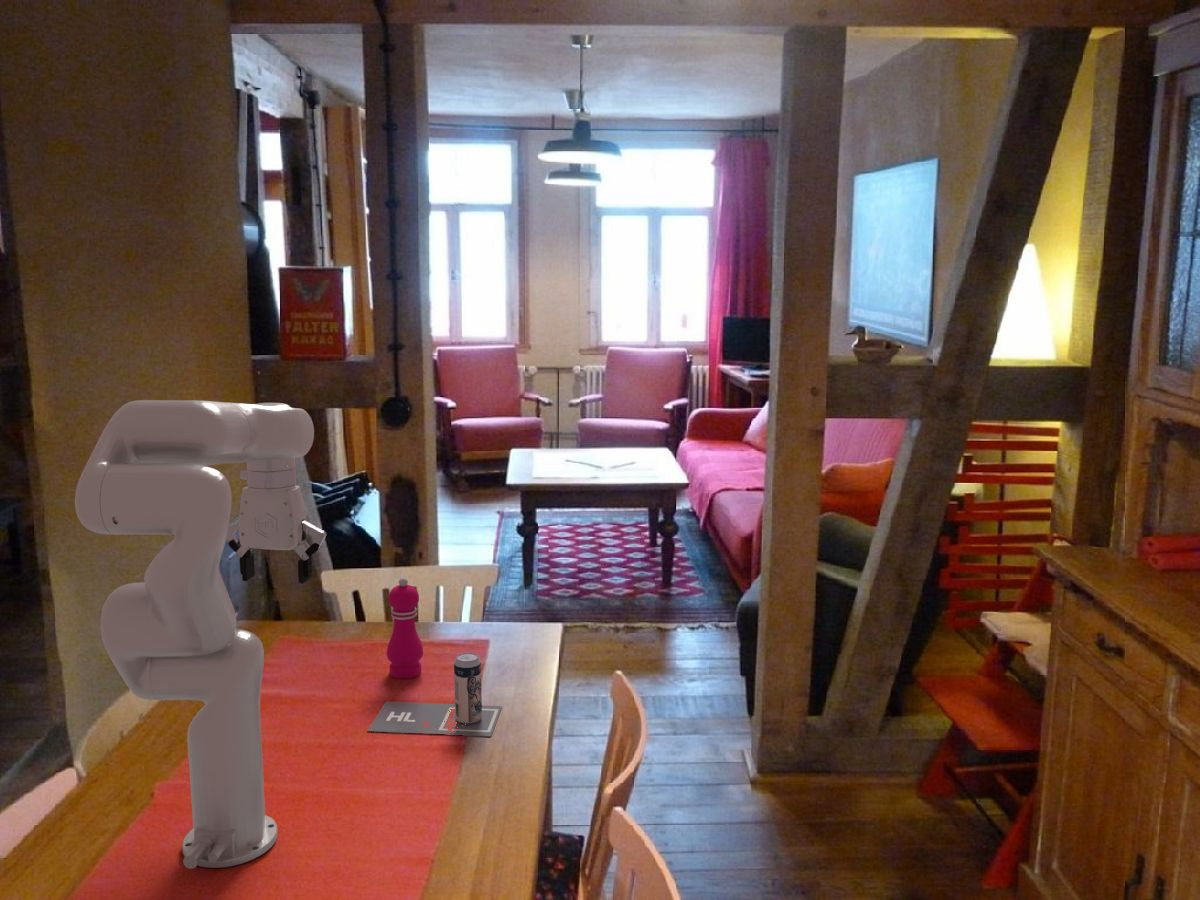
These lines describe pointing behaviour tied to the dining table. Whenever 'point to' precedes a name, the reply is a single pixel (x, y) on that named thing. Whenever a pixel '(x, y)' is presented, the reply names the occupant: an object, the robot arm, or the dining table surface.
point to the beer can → (468, 688)
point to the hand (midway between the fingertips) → (276, 579)
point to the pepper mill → (404, 632)
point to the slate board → (431, 719)
